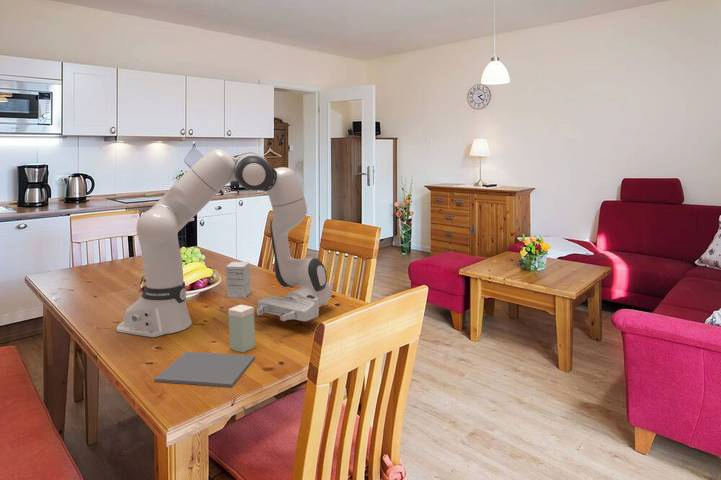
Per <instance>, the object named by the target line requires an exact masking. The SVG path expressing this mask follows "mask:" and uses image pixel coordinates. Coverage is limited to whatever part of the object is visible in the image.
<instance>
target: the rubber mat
mask: <svg viewBox="0 0 721 480" xmlns="http://www.w3.org/2000/svg"><path fill="white" fill-rule="evenodd" d="M255 359H256V356H255V355H245V354H231V353H217V352H201V351H200V352H198V351H185V352H184V353H183V354H182V355H180V356H179V357H178V358H176V359H175V360H174V361H172V363H171V364H169V366H167V367H166V368H165V369H164V370H163V371H162V372H161V373H158V375H157V376H156V377H154V382H155V383H167V384H181V385H182V384H184V385H195V386H196V385H197V386H212V387H224V388H233V387H234V386H235V384H236V382H237V381H239V379H240V378H241V377H242V375H243V374H244V373H245V371H247V369H248V368H249V367H250V365H251V364H252V363H253V362H254V361H255Z"/></svg>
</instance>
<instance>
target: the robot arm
mask: <svg viewBox="0 0 721 480" xmlns="http://www.w3.org/2000/svg"><path fill="white" fill-rule="evenodd" d="M232 182H237V183H238V184H239V185H240V186H242V188H244V189H246V190H248V191H253V192H254V191H256V192H257V191H260V192H262V191H263V192H265V191H266V193H267V195H268V198H269V201H270V204H271V208H272V219H271V220H270V224H269V228H270V229H269V231H270V238H271V243H272V244H271V245H272V250H273V256H274V263H275V264H274V268H275V269H274V271H275V272H274V273H275V279H276V280H277V282H278V283H279V285H281V286H282V287H283V288H292V287H298V288H297V289H294V290H292V291H290V292H288V293H286V295H285V297H283V296H282V297H281V296H276V295H271V296H267V297H262V298H260V299H258V300H257V309H256V315H257V316H264V315H265V314H266V313H267V314H269V315H275V316H278V317H279V320H280V321H283V322H286V321H288V320H296V321H300V322H308V321H312V320H314V319H315V318H318V317H319V314H320V313H319V311H320V307H322V306H325V304H326V303H328V302H329V300H331V297H332V295H333V294H332V293H333V290H332V286H331V284H330V282H328V279H327V277H328V276H327V270H326V266H325V265H324V263H323V261H321V260H320V259H319V258H316V257H313V258H312V257H309V258H308V257H307V258H294V257H292V255H291V250H290V244H289V243H290V242H289V237H288V236H289V233H290V232H291V230H292V229H294V228H296V227H297V226H299V225H300V224H301V223H302V222H303V221H304V220H305V218H306V216H307V212H308V208H307V202H306V199H305V195H304V192H303V189H302V186H301V183H300V181H299V179H298V177H297V175H296V173H295V171H294V170H293V169H291V168H289V167H284V166H283V167H277V168H274V167H273V166H272V165H271V164H270V163H269V162H268V160H267V159H266V158H265V157H264V156H263V155H261V154H258V153H256V152H245V153H242V154H238V155H231V154H230V153H229V152H227V151H226V150H224V149H221V148H215V149H212V150H211V151H209V152H207V153H206V154H205V155H203V156H202V157H201V158H200V159H198V160H197V161H196V162H195V163H194V164H193V165H192V166H190V168H189V169H188V170H186V171H185V173H184V174H182V176H181V177H180V178H179V179H178V180H177V181H176V182H174V184H172V186H171V187H170V188H169V189H168V190H167V191H166V192H165V193H164V195H163V196H162V197H160V199H159V200H158V201H157V202H155V204H154V205H153V206H152V207H150V208H149V209H148V210H147V211H145V212H143V213H142V214H141V215H140V216H139V218H138V220H137V222H136V235H137V237H138V241H139V246H140V251H141V254H142V259H143V264H144V274H145V276H144V277H145V285H143V286H141V287H140V288H138V293H142V294H141V297H140V298H138V299H137V300H136V301H134V302H133V303H132V304H131V305H130V306H128V307H127V308H126V310H125V312H124V315H123V321H122V322H120V323H119V324H117V327H116V332H118V333H123V334H130V335H135V336H141V337H149V338H156V337H160V336H163V335H168V334H174V333H177V332H181V331H184V330H186V329H188V328H189V327H191V325H192V324H193V322H192V319H191V317H190V314H189V310H188V306H187V301H186V300H187V290H186V282H185V281H184V270H183V258H182V254H181V248H180V244H179V236H178V235H179V234H178V233H179V232H180V231H182V229H183V228H184V227H185V226H186V225H187V224H188V223H189V222H190V221H192V219H194V217H195V216H196V215H197V214H198V213H199V212H201V210H203V209H204V208H205V206H207V204H209V202H210V201H212V199H214V198H215V196H216V195H217V194H218V193H220V191H221V190H222V189H223V188H224V187H225V186H227V185H228V184H229V183H232Z"/></svg>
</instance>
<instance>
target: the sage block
mask: <svg viewBox="0 0 721 480" xmlns="http://www.w3.org/2000/svg"><path fill="white" fill-rule="evenodd" d="M254 308H255V306H249V305H245V304H238V305H235V306H233V307H230V308H228V309H227V310H228V330H229V331H228V332H229V347H230V348H229V349H230V350H233V351H236V352H240V353H245V352H247V351H249V350H251V349H254V348H255V347H256V332H255V331H256V329H255V309H254Z"/></svg>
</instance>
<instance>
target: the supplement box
mask: <svg viewBox="0 0 721 480" xmlns="http://www.w3.org/2000/svg"><path fill="white" fill-rule="evenodd" d="M250 264H251V263H250V262H247V261H231V262H230V263H228V264H227V265H225V278H226V279H225V280H226V281H225V282H226V293H227V296H226V297H227V298H230V299H231V298H232V299H233V298H234V299H246V298H247V297H248V296H249V295H250V294H251V293H252V291H251V290H252V288H251V268H250V267H251V266H250Z"/></svg>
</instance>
